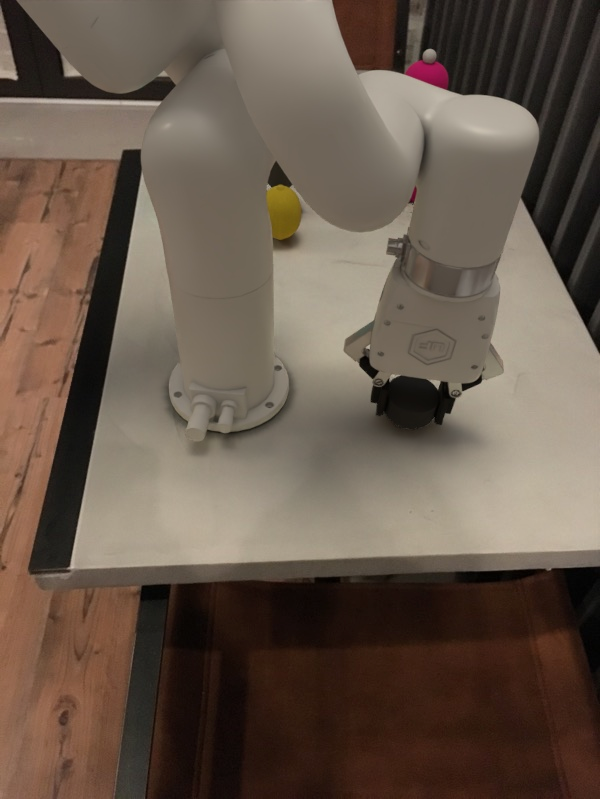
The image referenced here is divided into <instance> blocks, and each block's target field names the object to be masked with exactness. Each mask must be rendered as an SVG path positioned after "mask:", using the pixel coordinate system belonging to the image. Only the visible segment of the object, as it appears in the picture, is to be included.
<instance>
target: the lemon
mask: <svg viewBox="0 0 600 799" xmlns="http://www.w3.org/2000/svg"><path fill="white" fill-rule="evenodd" d="M266 200H267V207H268V212H269V217H270V222H271V227H272V237H273V239H276V240H278V241H283V240H285V239H288V238H290V237H292V236H293V235H294V234H295V233H297V231H298V229H299V227H300V225H301V222H302V205H301V200H300V198H299V196H298V194H297V192H295V191H294V190H293V189H292V188H291V187H290V188H289V187H286V186H283V185H278V186H274V187H270V188H269V189H267V192H266Z"/></svg>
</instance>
